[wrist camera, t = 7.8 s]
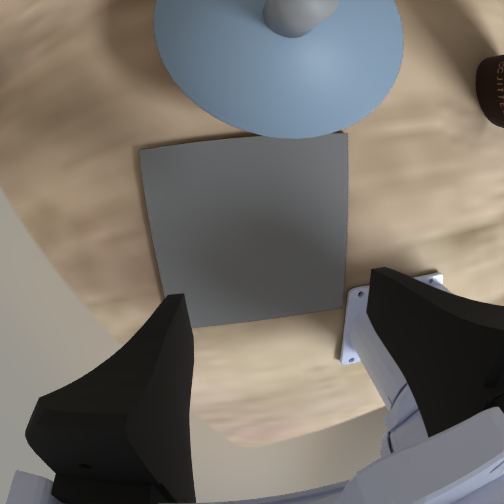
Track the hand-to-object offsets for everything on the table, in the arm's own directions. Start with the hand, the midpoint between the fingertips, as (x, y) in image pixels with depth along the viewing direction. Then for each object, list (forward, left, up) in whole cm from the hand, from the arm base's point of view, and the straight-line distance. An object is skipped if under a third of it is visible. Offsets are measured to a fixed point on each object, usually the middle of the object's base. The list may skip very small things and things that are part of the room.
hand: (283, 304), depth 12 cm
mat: (0, +1, -10) cm, 10 cm away
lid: (-2, -12, -6) cm, 14 cm away
